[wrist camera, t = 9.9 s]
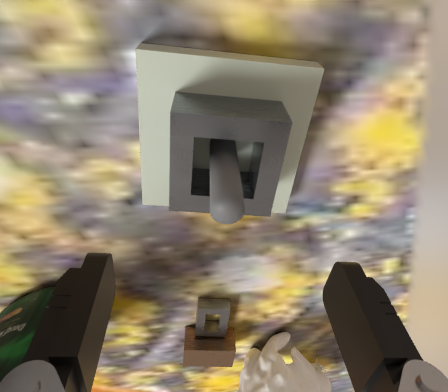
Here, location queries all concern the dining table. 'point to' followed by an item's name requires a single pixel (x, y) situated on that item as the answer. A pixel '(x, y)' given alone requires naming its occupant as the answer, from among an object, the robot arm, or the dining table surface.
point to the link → (230, 130)
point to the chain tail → (210, 336)
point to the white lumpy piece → (281, 370)
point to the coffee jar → (20, 327)
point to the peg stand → (209, 147)
